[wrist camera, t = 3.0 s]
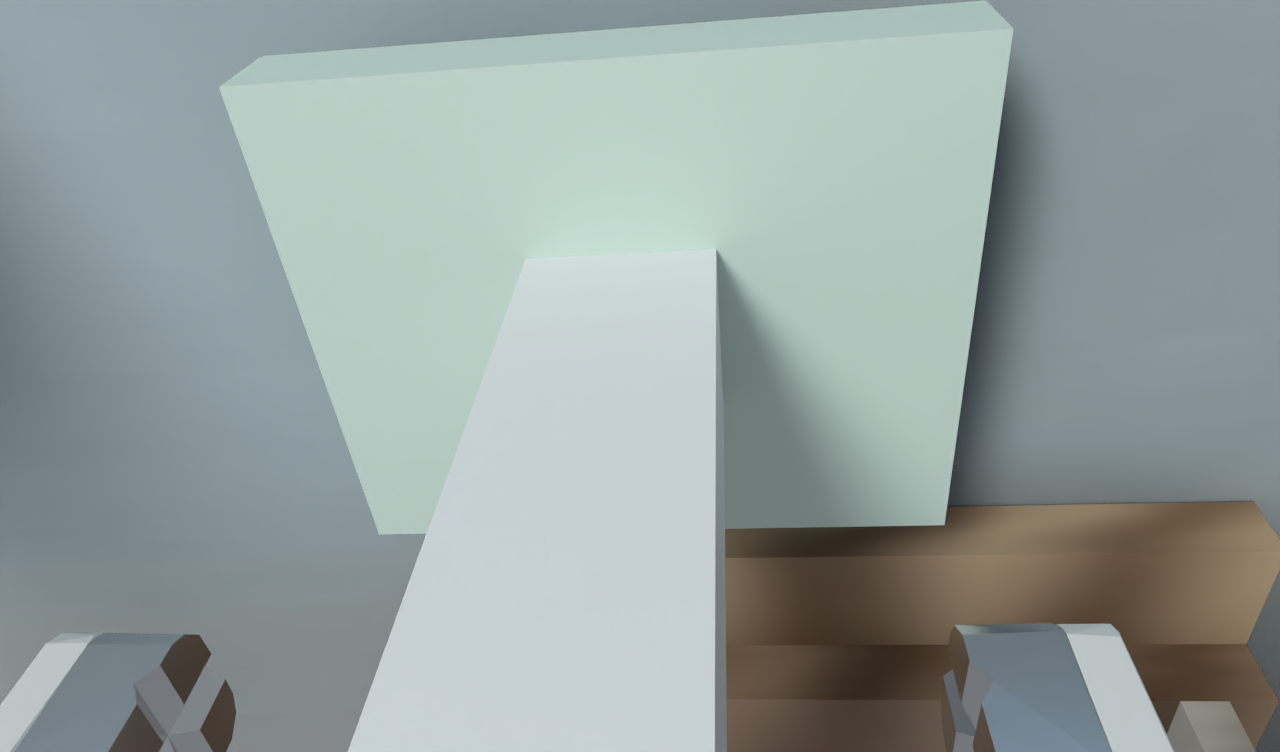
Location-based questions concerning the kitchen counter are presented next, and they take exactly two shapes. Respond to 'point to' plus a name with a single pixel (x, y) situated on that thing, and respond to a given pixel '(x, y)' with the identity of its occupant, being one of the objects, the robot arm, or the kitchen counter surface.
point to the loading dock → (992, 617)
